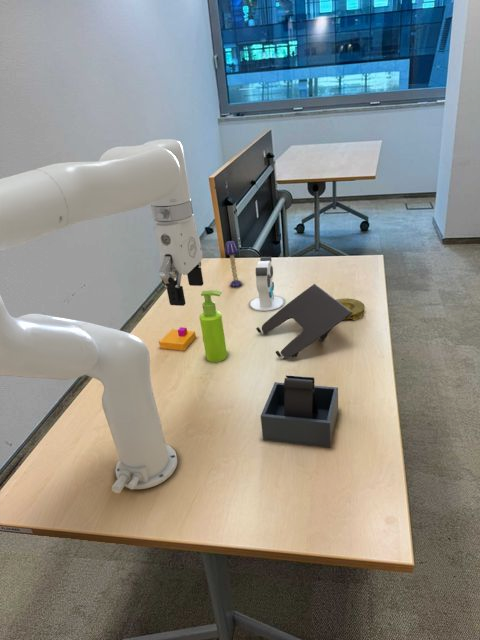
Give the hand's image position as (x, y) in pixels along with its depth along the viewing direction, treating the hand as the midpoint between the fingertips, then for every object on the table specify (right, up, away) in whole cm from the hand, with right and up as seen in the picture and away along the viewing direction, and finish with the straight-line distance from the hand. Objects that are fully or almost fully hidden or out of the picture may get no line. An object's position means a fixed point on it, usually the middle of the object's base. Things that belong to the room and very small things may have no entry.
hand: (187, 294), depth 98 cm
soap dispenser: (+3, -14, +37) cm, 39 cm away
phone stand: (+24, -28, +8) cm, 38 cm away
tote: (+24, -28, +8) cm, 38 cm away
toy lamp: (+5, +13, +81) cm, 82 cm away
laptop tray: (+27, -8, +42) cm, 50 cm away
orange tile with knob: (-10, -9, +46) cm, 48 cm away
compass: (+42, 0, +54) cm, 68 cm away
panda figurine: (+17, +4, +64) cm, 66 cm away
